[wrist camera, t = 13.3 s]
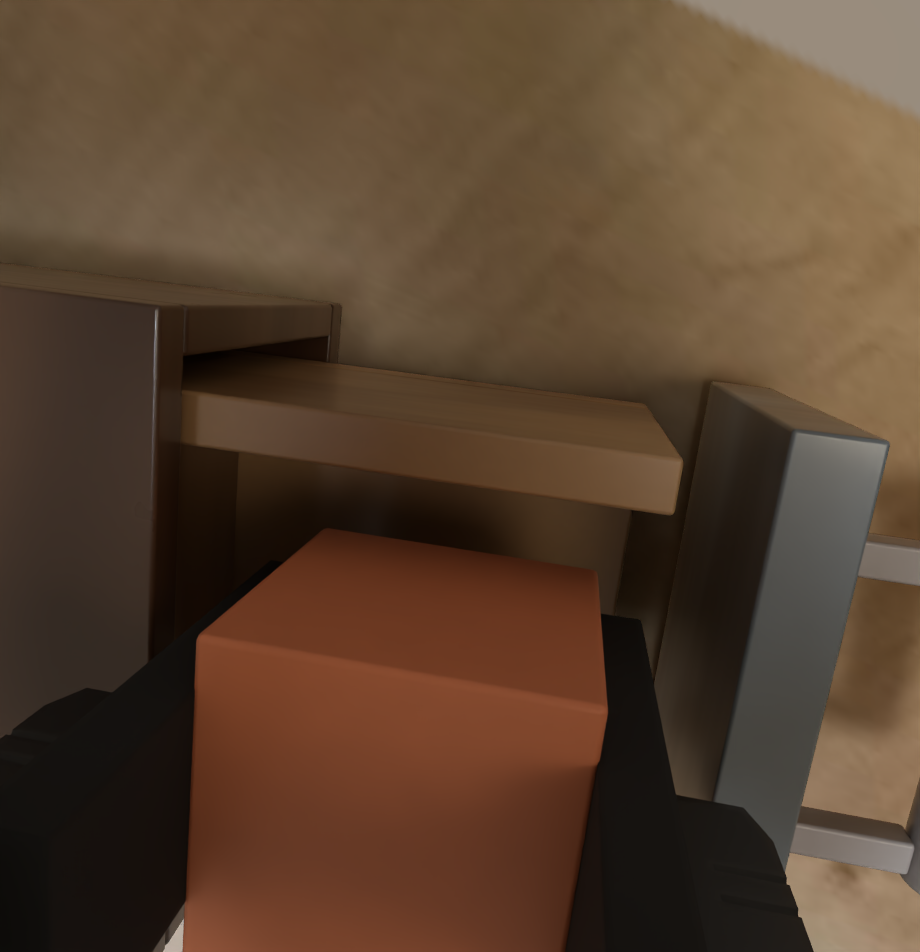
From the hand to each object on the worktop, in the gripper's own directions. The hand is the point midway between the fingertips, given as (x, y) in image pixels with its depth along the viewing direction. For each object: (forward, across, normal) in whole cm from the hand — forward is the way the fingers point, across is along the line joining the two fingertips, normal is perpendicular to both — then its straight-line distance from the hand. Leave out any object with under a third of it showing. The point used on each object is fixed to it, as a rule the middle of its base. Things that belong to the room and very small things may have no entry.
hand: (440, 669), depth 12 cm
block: (0, 0, 0) cm, 0 cm away
